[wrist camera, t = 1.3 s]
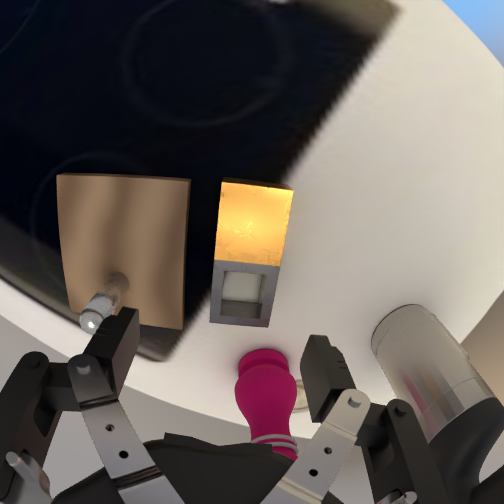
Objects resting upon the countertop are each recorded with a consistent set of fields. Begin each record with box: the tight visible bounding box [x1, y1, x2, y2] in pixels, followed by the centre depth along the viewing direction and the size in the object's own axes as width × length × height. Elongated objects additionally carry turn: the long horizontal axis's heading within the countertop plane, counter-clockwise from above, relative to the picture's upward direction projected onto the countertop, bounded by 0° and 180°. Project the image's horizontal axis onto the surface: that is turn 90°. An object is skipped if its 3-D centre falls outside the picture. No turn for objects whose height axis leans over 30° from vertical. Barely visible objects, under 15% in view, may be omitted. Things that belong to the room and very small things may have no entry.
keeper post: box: [80, 272, 129, 335], centre depth 25 cm, size 2×2×8 cm
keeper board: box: [57, 173, 191, 330], centre depth 29 cm, size 14×16×2 cm
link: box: [209, 177, 293, 328], centre depth 29 cm, size 6×14×3 cm, turn 173°
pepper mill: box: [235, 349, 298, 461], centre depth 27 cm, size 7×7×20 cm
